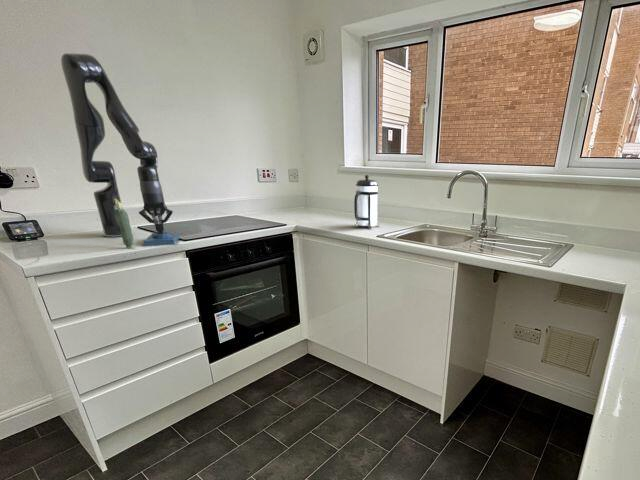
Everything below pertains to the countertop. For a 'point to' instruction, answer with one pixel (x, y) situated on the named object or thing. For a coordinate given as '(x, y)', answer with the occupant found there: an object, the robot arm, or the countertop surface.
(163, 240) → the button box
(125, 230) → the vegetable
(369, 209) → the coffee press
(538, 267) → the countertop surface
